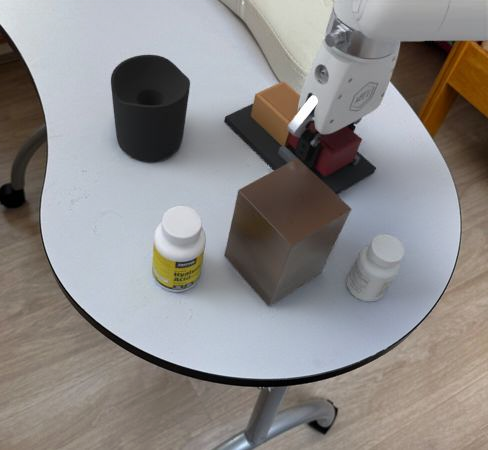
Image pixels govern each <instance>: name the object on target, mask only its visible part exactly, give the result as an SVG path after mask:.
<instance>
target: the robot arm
mask: <svg viewBox="0 0 488 450" xmlns="http://www.w3.org/2000/svg"><path fill="white" fill-rule="evenodd" d="M321 41H322V42H321V43H320V45H319V47H318V50H317V51H316V53H315V55H314V58H313V61H312V62H311V65H310V68H309V69H308V72H307V75H306V78H305V81H304V83H303V87H302V90H301V92H300V100H299V104H298V113H297V115H296V116H295V117H294V119H293V120H292V121H291V122H290V124H289V125H288V126H287V130H288V131H289V132H290V133H291V134H292V135H294V136H296V137H299V139H298V142H297V146H296V149H295V154H296V155H297V156H298V157H299V158H300V159H301V160H303V161H304V162H305V163H306V164H307V165H308V166H309V167H313V166H315V164H316V161H317V158H318V155H319V153H320V150H321V147H322V144H321V142H320V141H321V139H322V137H323V135H324V134H330V133H333V132H335V131H337V130H339V129H341V128H343V127H345V126H347V127H348V128H350V129H351V130H352V131H353V132H354V133H355V130H356V128H357V126H356V125H358V124H359V123H360V122H361V121H362V120H363V118H365V117H366V116H367V115H369V114H372V112H374V111H375V110H376V109H378V108H379V107H380V105H381V103H382V101H383V99H384V97H385V95H386V92H387V90H388V87H389V84H390V81H391V78H392V77H393V74H394V73H393V72H394V70H395V67H396V64H397V61H398V57H399V53H400V48H401V42H425V41H427V42H429V41H430V42H432V41H434V42H442V41H443V42H446V41H450V42H451V41H452V42H453V41H457V42H459V41H463V42H464V41H465V42H481V41H482V42H485V41H486V42H487V41H488V0H334V3H333V5H332V9H331V12H330V15H329V19H328V22H327V26H326V29H325V32H324V39H323V40H321ZM312 122H313V123H314V124H315V128H316V132H315V133H313V132H312V131H311V130H310V129H309V127H310V125H311V123H312Z"/></svg>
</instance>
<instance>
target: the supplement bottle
mask: <svg viewBox="0 0 488 450" xmlns="http://www.w3.org/2000/svg"><path fill="white" fill-rule="evenodd" d="M206 243H207V236H206V231H205V230H204V228H203V220H202V217H201V215H200V214H199V212H198V211H197V210H195V209H194V208H192V207H190V206H187V205H176V206H173V207H171V208H169V209H167V210H166V211H165V212H164V214H163V216H162V219H161V222H160V223H159V224H158V225H157V227H156V229H155V231H154V234H153V247H152V266H151V269H152V270H151V271H152V277H153V279H154V281H155V282H156V283H157V284H158V286H160V287H161V288H162V289H164V290H166V291H168V292H174V293H180V292H181V293H182V292H185V291H187V290H190V289H191V288H193V287H194V286H195V285H196V284H197V282H198V281H199V278H200V276H201V271H202V267H203V262H204V261H203V260H204V255H205V249H206Z"/></svg>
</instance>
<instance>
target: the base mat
mask: <svg viewBox="0 0 488 450" xmlns="http://www.w3.org/2000/svg"><path fill="white" fill-rule="evenodd" d="M252 108H253V103H251V104H248V105H246V106H243V107H242V108H240V109H238V110H236V111H234V112H231V113H230V114H227V115H225V116H224V124H226V125H227V126H228V127H229V128H230V129H231V130H232V131H233V132H234V133H235V134H236V135H237V136H238V137H239V138H240V139H241V140H242V141H243V142H244V143H245V144H246V145H247V146H248V147H249V148H250V149H251V150H252V151H254V153H255V154H256V155H258V157H259V158H260V159H261V160H263V161H264V162H265V163H266V164H267V165H268V166H269V167H270V169H272V171H274V170H276V169H278V168H280V167H282V166H284V165H286V164H287V163H289V162H291V161H293V160H295V159H297V158H298V159H299V160H300V161H301V162H302V163H304V164H305V165H306V166H307V167H308V168H309V169H310V170H311V171H312V172H313V173H314V174H315V175H316V176H317V177H318V178H319V179H320V180H322V181H323V182H324V183H325V184H326V185H327V186H328V187H329V188H330V189H331V190H332V191H333V192H334V193H335V194H336V195H337V196H338V195H340V194H341V193H343V192H345V191H346V190H348V189H349V188H351V187H353V186H354V185H356V184H358V183H359V182H361V181H363V180H364V179H366V178H368V177H370V176H371V175H373V174H374V173H376V169H377V167H376V166H375V165H373V163H372V162H370V161H369V160H368V159H367V158H366V157H365V156H363V154H361V153H360V152H359V151H358V150H357V153H356V155H355V157H354V160H353V161H352V162H350V163H349V164H347V165H345V166H343V167H342V168H340V169H338V170H336V171H335V172H333V173H331V174H329V175H328V176H326V177H324V176H323V175H322V174H321V173H320V172H319V171H318V170H317V169H316V168H315V167H309V166H308V165H307V164H306V163H305V162H304V161H303V160H301V159H300V158H299V157H298V156H297V155H296V154H295V149H294V148H293V147H292V146H291V145H289V146H287V147H285V146H282V145H281V144H279V143H278V142H277V141H276V140H275V139H274V138H273V137H272V136H271V135H270V134H269V133H268V132H267V131H266V130H265V129H264V128H263V127H262V126H260V125H259V124H258V123H257V122H256V121H255V120H254V119H253V118H252V117H251V113H252Z"/></svg>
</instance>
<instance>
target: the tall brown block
mask: <svg viewBox="0 0 488 450" xmlns="http://www.w3.org/2000/svg"><path fill="white" fill-rule="evenodd" d="M352 209H353V208H351V207H350V206H349V205H348V204H347V203H346V202H345V201H344V199H342V198H341V197H340V196H339V195H338V194H337V195H336V194H335V193H334V192H333V191H332V190H331V189H330V188H329V187H328V186H327V185H326V184H325V183H324V182H323V181H322V180H320V179H319V178H318V177H317V176H316V175H315V174H314V173H313V172H312V171H311V170H310V169H309V168H308V167H307V166H306V165H305V164H304V163H302V162H301V161H300V160H299V159H298V158H297V159H295V160H293V161H291V162H289V163H287V164H286V165H284V166H282V167H280V168H278V169H276V170H272V171H271V172H269V173H267V174H265V175H263V176H261V177H260V178H258V179H256V180H254V181H252V182H250V183H249V184H246V185H245V186H243V187H241V188H239V189H238V190H237V194H236V199H235V203H234V208H233V213H232V218H231V222H230V226H229V231H228V237H227V241H226V246H225V251H224V258H225V259H226V260H227V261H228V262H229V263H230V264H231V266H232V267H233V268H234V269H235V271H237V273H238V274H240V276H241V277H242V279H244V280H245V281H246V283H247V284H248V286H250V288H251V289H252V290H253V291H254V292H255V293H256V294H257V295H258V297H259V298H260V299H261V300H262V301H263V303H264V304H265V305H266V306H267V307H269V308H270V307H271V306H273V305H275V304H276V303H277V302H279V301H280V300H282V299H283V298H285V297H287V296H288V295H290V294H291V293H293V292H294V291H296V290H298V289H299V288H300V287H303V285H305V284H306V283H308V282H310V281H311V280H313V279H314V278H315V277H318V275H320V274H322V273H323V270H324V268H325V266H326V264H327V262H328V260H329V257H330V255H331V253H332V251H333V249H334V247H335V245H336V243H337V241H338V239H339V237H340V234H341V232H342V230H343V228H344V227H345V224H346V222H347V220H348V218H349V216H350V214H351V211H352Z"/></svg>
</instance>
